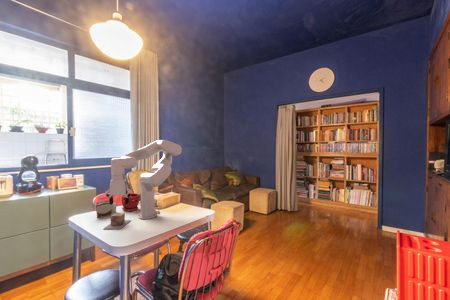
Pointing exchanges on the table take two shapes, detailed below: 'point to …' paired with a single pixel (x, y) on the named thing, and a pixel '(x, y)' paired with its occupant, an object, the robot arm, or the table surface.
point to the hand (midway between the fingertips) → (119, 203)
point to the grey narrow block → (113, 208)
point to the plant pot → (131, 202)
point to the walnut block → (117, 219)
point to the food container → (103, 209)
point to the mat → (117, 226)
